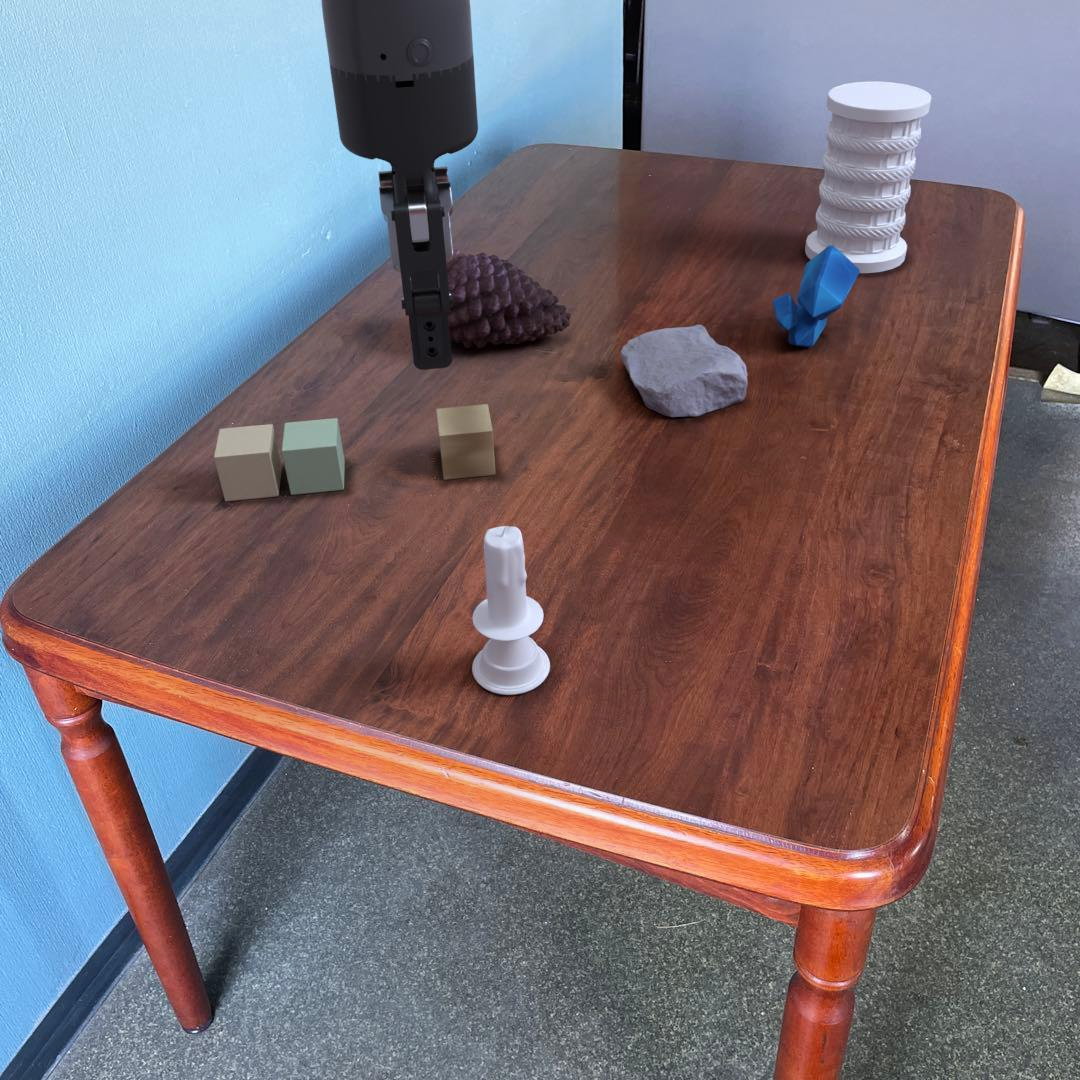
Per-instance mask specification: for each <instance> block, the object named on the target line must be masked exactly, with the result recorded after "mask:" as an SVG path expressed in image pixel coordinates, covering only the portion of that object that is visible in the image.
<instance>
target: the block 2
mask: <svg viewBox="0 0 1080 1080" xmlns="http://www.w3.org/2000/svg"><path fill="white" fill-rule="evenodd" d="M283 426H284V427H283V435H282V445H281V455H282V460H283V464H284V465H283V466H284V467H285V468H284V469H285V475H286V478H287V483H288V488H289V492H290V495H291V496H293V495H303V494H312V493H315V494H316V493H324V492H325V493H326V492H335V491H343V490H345V463H346V461H345V455H344V449H343V442H342V438H341V431H340V425H339V419H338V418H337V417H334V418H324V419H312V420H302V421H301V420H300V421H289V422H284V425H283Z"/></svg>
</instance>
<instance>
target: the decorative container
mask: <svg viewBox="0 0 1080 1080" xmlns="http://www.w3.org/2000/svg"><path fill="white" fill-rule="evenodd" d="M931 101H932V95H931V94H930V92H928V91H926V90H925V89H923V88H920V87H918V86H914V85H910V84H906V83H900V82H892V81H877V80H876V81H855V82H848V83H842V84H840V85H836V86H834V87H832V88H830V89H829V91H828V92H827V99H826V108H827V110H828V111H829V112H831V121H830V122H829V123H828V126H827V127H826V130H825V131H826V140H827V150H826V151H825V152H824V155H823V158H822V167H823V171H824V175H823V178H822V179H821V182H820V184H819V186H818V193H819V197H820V204H819V205H818V207H817V208H816V209H817V210H816V212H815V223H816V225H817V226H816V227H817V228H816V230H813V231H812V232H811V233H809V234H808V235H807V237H806V240H805V245H804V246H805V247H804V252H805V255H806V257H807V258H808V259H809V261H810V260H811V259H813V258H814V257H815V256H816V255H818V254H819V253H820V252H821V251H823V250H824V249H825V248H827V247H828V246H829V245H832V246H834V247H836V248H837V249H838V250H839V251H841V252H842V253H843V254H844V255H845V256H846V257H847V258H848V259H849V260H850V261H851V262H852V263H853V264H854V265H855V266H856V267H858V268H859V274H874V273H883V272H886V271H890V270H893V269H895V268H898V267H900V266H901V265H902V264H903V263H904V262H905V260H906V256H907V250H908V244H907V242H906V240H905V239H904V238H903V237H901V232H902V231H903V230H904V227H905V225H906V221H907V219H906V214H907V213H906V206H907V205H906V204H908V203H909V200H910V197H911V194H912V190H911V189H912V188H911V187H912V186H911V184H910V182H911V177H912V175H913V174H914V172H915V170H916V167H917V166H916V165H917V157H916V156H915V155H916V149H917V146H919V143H920V141H921V140H922V139H921V138H922V128H921V122H922V117H925V116H926V115H928V114H929V112H930V107H931Z"/></svg>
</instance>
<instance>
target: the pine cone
mask: <svg viewBox="0 0 1080 1080" xmlns="http://www.w3.org/2000/svg"><path fill="white" fill-rule="evenodd" d="M447 276H448V287H449V292H451V295H452V302H453V305H450V310H451V312H448V321H449V332H450V343H453V342H455V343H456V344H463V346H464V348H469V349H470V348H472V347H473V346H476V347H477V348H479V349H481V348H484V347H485V346H486V345H487V344H488V342H489V343H491V344H492V345H494V346H497V345H501V344H506V345H511V344H513V345H519V344H521V343H525V342H535V341H536V340H537V339H543V338H546V337H547V335H548V336H553V335H556V334H557V333H559V332H563V331H564V330H566V328H567V327H570V324H571V322H570V321H571V318H572V315H571V313H569V312H567V307H566V305H563V304H558V303H559V298H558V296H557V295H556V294H554V293H553V292H552V290H551V289H550V288H549V289H545V288H543V287H541V285H540V283H539V282H538V281H535V279H534V278H533V277H530V276H528V275H527V274H526V273H525V271H524V270H523V269H521V268H518V267H517V266H515V265H514V264H513V263H511V262H510V261H509V259H502V258H500V257H499V256H498V255H496V254H492V255H488V254H487V253H485V252H480V253H478V254H472V253H468V254H467V255H466V254H464V253H463V252H461V251H460V250H458V249H453V263H452V265H451V266H450V267H448V268H447Z"/></svg>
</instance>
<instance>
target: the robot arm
mask: <svg viewBox="0 0 1080 1080" xmlns="http://www.w3.org/2000/svg"><path fill="white" fill-rule="evenodd" d="M321 10H322V11H321V12H322V19H323V29H324V34H325V41H326V48H327V56H328V63H329V69H330V77H331V78H330V79H331V84H332V90H333V99H334V105H335V112H336V119H337V120H336V121H337V127H338V134H339V140H340V142H341V144H342V146H343V147H344V148H345V149H346V150H347V151H348V152H349V153H352V154H353V155H354V156H358V157H361V158H363V159H367V160H372V161H373V160H376V159H378V160H381V161H383V162H386V163H389V165H390V167H391V170H382V171H381V170H379V171H378V179H379V180H378V181H379V187H378V190H379V192H378V193H379V200H380V209H381V214H382V218H383V220H384V221H385V222H386V224H387V234H388V242H389V253H390V260H391V266H392V268H393V269H394V270H395V271H396V272H398V273H400V279H401V286H402V295H401V299H400V302H401V309H402V310H404V312H405V316H407V317H408V324H409V333H410V340H411V351H412V359H413V365H414V366H415V368H416V369H418V370H421V371H425V370H436V369H446V368H449V367H450V366H451V364H452V363H453V357H452V355H453V354H452V342H450V332H449V321H448V312H451V310H450V305H453V302H452V295H451V292H449V287H448V276H447V268H448V267H450V266H451V265H452V263H453V250H454V249H453V238H452V230H451V220H450V218H451V216H452V214H453V204H454V203H453V194H452V185H451V181H450V179H449V169H448V166H435V162H436V160H437V159H438V158H440V157H442V156H444V155H446V154H450V155H453V154H456V153H458V152H461V151H462V150H464V149H465V148H467V147H469V146H470V145H471V144H472V143H473V142H474V141H475V139H476V137H477V136H478V133H479V122H478V121H479V120H478V105H477V92H476V90H477V89H476V76H475V74H476V73H475V59H474V45H473V27H472V9H471V0H321Z"/></svg>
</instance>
